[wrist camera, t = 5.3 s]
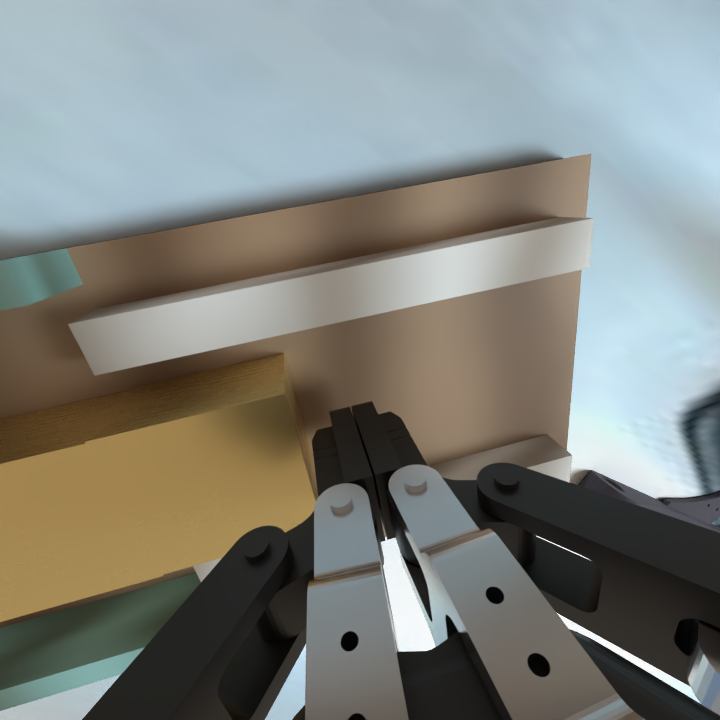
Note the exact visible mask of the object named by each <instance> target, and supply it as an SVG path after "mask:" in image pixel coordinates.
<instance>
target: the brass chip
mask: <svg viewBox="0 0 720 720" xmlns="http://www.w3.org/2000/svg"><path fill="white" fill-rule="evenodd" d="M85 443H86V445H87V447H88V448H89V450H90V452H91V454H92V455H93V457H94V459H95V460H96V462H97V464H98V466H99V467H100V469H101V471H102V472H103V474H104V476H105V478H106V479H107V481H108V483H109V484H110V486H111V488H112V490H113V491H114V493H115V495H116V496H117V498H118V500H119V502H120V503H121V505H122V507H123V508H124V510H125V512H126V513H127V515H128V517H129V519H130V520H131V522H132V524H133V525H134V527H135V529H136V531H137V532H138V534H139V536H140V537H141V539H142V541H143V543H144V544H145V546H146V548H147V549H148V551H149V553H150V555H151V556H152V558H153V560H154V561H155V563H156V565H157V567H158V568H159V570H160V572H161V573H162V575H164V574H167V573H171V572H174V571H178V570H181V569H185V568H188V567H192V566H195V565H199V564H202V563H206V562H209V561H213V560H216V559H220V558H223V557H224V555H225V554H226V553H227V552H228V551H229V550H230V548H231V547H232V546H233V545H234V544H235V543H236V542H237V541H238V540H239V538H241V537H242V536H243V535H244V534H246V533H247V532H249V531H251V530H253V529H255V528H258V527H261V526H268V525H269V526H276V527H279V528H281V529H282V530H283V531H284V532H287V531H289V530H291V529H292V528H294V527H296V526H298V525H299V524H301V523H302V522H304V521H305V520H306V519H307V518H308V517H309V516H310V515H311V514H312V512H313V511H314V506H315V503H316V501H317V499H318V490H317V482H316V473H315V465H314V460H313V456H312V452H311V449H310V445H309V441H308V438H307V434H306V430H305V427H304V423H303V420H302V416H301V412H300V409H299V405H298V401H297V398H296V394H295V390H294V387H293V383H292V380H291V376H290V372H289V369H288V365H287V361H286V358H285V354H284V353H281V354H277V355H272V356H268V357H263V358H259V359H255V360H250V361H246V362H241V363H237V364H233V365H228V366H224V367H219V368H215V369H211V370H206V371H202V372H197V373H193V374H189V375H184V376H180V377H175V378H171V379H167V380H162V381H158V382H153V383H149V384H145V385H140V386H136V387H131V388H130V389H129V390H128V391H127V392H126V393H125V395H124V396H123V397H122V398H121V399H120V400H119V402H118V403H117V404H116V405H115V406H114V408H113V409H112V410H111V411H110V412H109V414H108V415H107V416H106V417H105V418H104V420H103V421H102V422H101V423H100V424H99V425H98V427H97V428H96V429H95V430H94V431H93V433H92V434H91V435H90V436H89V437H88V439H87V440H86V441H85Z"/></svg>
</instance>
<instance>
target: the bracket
mask: <svg viewBox="0 0 720 720" xmlns="http://www.w3.org/2000/svg"><path fill="white" fill-rule="evenodd" d="M578 486H581V487H584V488H587V489H590V490H593V491H596V492H599V493H602V494H605V495H608V496H611V497H614V498H617V499H620V500H623V501H626V502H629V503H632V504H635V505H638V506H641V507H644V508H647V509H650V510H653V511H656V512H659V513H662V514H665V515H668V516H671V517H674V518H677V519H680V520H683V521H686V522H689V523H692V524H695V525H698V526H701V527H704V528H707V529H710V530H713V531H716V532H719V533H720V526H716V525H713V524H712V523H713V522H714V521H715V520H716V519H717V518H719V517H720V491H719V492H717V493H714V494H711V495H707V496H701V497H696V498H688V499H665V500H664V501H660V500H657V499H655V498H653V497H650V496H648V495H646V494H644V493H641V492H639V491H637V490H635V489H633V488H630V487H628V486H626V485H624V484H622V483H619V482H617V481H615V480H613V479H610V478H608V477H606V476H604V475H602V474H599V473H597V472H595V471H593V470H591V471H590V472H589V473H588V474H587V476H586V477H585V478H584V479H583V480H582V482H581V483H580V484H579V485H578Z"/></svg>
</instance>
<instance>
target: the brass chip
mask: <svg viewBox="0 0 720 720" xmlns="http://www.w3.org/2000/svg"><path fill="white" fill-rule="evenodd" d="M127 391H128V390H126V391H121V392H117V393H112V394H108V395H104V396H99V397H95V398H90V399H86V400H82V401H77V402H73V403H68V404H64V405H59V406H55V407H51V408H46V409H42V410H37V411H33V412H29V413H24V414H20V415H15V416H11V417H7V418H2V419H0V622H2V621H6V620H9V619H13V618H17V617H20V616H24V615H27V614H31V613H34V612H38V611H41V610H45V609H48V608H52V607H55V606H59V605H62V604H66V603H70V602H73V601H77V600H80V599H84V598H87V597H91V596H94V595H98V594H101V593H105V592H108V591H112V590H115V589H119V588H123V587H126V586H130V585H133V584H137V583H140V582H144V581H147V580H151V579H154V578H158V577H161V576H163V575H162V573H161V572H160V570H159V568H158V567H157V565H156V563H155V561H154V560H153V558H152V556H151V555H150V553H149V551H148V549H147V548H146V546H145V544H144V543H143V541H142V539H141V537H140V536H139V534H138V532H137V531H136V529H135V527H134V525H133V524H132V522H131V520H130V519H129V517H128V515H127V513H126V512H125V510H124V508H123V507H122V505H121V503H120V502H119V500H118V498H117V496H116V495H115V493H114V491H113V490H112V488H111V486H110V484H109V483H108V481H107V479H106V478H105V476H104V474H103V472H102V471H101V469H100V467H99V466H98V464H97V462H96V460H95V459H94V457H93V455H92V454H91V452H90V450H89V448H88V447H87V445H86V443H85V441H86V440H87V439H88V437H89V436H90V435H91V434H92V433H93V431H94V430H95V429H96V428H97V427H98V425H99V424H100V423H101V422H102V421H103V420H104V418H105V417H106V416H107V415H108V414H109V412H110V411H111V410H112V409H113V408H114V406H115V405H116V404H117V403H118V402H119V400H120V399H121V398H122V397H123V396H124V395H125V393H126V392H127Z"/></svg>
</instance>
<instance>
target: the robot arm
mask: <svg viewBox="0 0 720 720" xmlns="http://www.w3.org/2000/svg"><path fill="white" fill-rule="evenodd" d="M351 408H352V412H351V409H350V407H346V408H341V409H337V410H333V411H329V414H330V418H331V423H332V426H330V427H326V428H322V429H319V430H317V431H316V433H315V435H314V437H313V439H312V448H313V456H314V465H315V473H316V482H317V490H318V499H317V501H316V503H315V506H314V511H313V512H312V514H311V515H310V516H309V517H308V518H307V519H306V520H305V521H304V522H302V523H301V524H299V525H298V526H296V527H294V528H292V529H291V530H289V531H287V532H284V531H283V530H282V529H281V528H279V527H276V526H269V525H268V526H261V527H258V528H255V529H253V530H251V531H249V532H247V533H246V534H244V535H243V536H242V537H241V538H239V540H238V541H237V542H236V543H235V544H234V545H233V546H232V547H231V548H230V550H229V551H228V552H227V553H226V554H225V555H224V557H223V558H222V559H221V560H220V561H219V562H218V563H217V565H216V566H215V567H214V568H213V569H212V570H211V572H210V573H209V574H208V575H207V576H206V577H205V578H204V580H203V581H202V582H201V583H200V584H199V585H198V587H197V588H196V589H195V590H194V591H193V592H192V593H191V595H190V596H189V597H188V598H187V599H186V600H185V602H184V603H183V604H182V605H181V606H180V607H179V608H178V610H177V611H176V612H175V613H174V614H173V615H172V617H171V618H170V619H169V620H168V621H167V622H166V623H165V625H164V626H163V627H162V628H161V629H160V630H159V632H158V633H157V634H156V635H155V636H154V637H153V638H152V640H151V641H150V642H149V643H148V644H147V645H146V647H145V648H144V649H143V650H142V651H141V652H140V653H139V655H138V656H137V657H136V658H135V659H134V660H133V662H132V663H131V664H130V665H129V666H128V667H127V668H126V670H125V671H124V672H123V673H122V674H121V675H120V677H119V678H118V679H117V680H116V681H115V682H114V684H113V685H112V686H111V687H110V688H109V689H108V690H107V692H106V693H105V694H104V695H103V696H102V697H101V699H100V700H99V701H98V702H97V703H96V704H95V705H94V707H93V708H92V709H91V710H90V711H89V712H88V714H87V715H86V716H85V717H84V718H83V719H82V720H265V718H266V716H267V714H268V712H269V711H270V709H271V707H272V705H273V703H274V701H275V700H276V698H277V696H278V694H279V692H280V690H281V688H282V687H283V685H284V683H285V681H286V679H287V677H288V676H289V674H290V672H291V670H292V668H293V666H294V665H295V663H296V661H297V659H298V657H299V655H300V654H301V652H302V650H303V648H304V646H305V644H306V690H305V705H304V707H303V708H302V709H301V710H300V711H299V712H298V713H297V714H296V715H295V717H294V718H293V720H720V533H719V532H716V531H713V530H710V529H707V528H704V527H701V526H698V525H695V524H692V523H689V522H686V521H683V520H680V519H677V518H674V517H671V516H668V515H665V514H662V513H659V512H656V511H653V510H650V509H647V508H644V507H641V506H638V505H635V504H632V503H629V502H626V501H623V500H620V499H617V498H614V497H611V496H608V495H605V494H602V493H599V492H596V491H593V490H590V489H587V488H584V487H581V486H578V485H575V484H572V483H569V482H566V481H563V480H561V479H558V478H555V477H552V476H549V475H546V474H543V473H540V472H537V471H534V470H531V469H528V468H525V467H522V466H519V465H515V464H512V463H493V464H490V465H487V466H485V467H484V468H483V469H481V470H480V472H479V473H478V475H477V480H452V479H447V478H443V477H441V475H440V474H439V473H438V472H437V471H436V470H435V469H433V468H431V467H428V466H427V464H426V462H425V460H424V458H423V457H422V455H421V453H420V451H419V449H418V448H417V446H416V444H415V442H414V440H413V439H412V437H411V435H410V433H409V431H408V430H407V428H406V426H405V424H404V422H403V421H402V419H401V418H400V417H399V416H397V415H396V414H394V413H393V412H391V411H390V412H386V413H382V414H378V413H377V411H376V408H375V406H374V404H373V402H372V401H370V402H365V403H361V404H357V405H353V406H351ZM352 414H353V415H352ZM381 520H382V521H381ZM382 524H383V526H382ZM383 527H384V530H385V533H386V536H387V540H388V539H391V538H395V537H396V540H397V543H398V546H399V549H400V554H401V560H402V564H403V567H404V569H405V571H406V574H407V576H408V578H409V581H410V583H411V586H412V588H413V590H414V593H415V595H416V597H417V600H418V602H419V604H420V607H421V609H422V612H423V614H424V616H425V619H426V621H427V623H428V626H429V628H430V631H431V633H432V636H433V639H434V642H435V646H436V647H435V648H433V649H432V650H429V651H416V652H399V648H398V643H397V637H396V632H395V627H394V622H393V616H392V611H391V606H390V600H389V595H388V590H387V585H386V579H385V574H384V569H383V564H384V557H383V552H382V547H381V542H382V541H385V536H384V531H383ZM536 535H537V536H539V537H542V538H544V539H546V540H548V541H551V542H553V543H555V544H557V545H560V546H562V547H564V548H567V549H569V550H571V551H573V552H576V553H578V554H580V555H582V556H584V557H586V558H588V559H590V560H591V561H590V560H588V559H585V558H583V557H581V556H579V555H576V554H574V553H572V552H570V551H567V550H565V549H563V548H561V547H558V546H556V545H554V544H552V543H549V542H547V541H545V540H543V539H540V538H538V537H536ZM592 561H593V562H592ZM556 612H557V613H558V614H560V615H562V616H564V617H566V618H567V619H569V620H571V621H573V622H575V623H576V624H578V625H580V626H582V627H584V628H585V629H587V630H589V631H591V632H593V633H595V634H596V635H598V636H600V637H602V638H604V639H605V640H607V641H609V642H611V643H613V644H614V645H616V646H618V647H620V648H622V649H623V650H625V651H627V652H629V653H631V654H633V655H634V656H636V657H638V658H640V659H642V660H643V661H645V662H647V663H649V664H651V665H652V666H654V667H656V668H658V669H660V670H661V671H663V672H665V673H667V674H669V675H671V676H672V677H674V678H676V679H678V680H680V681H681V682H683V683H685V684H687V685H689V686H690V687H691V688H692V690H693V692H694V694H695V696H696V697H697V699H698V700H699V701H700V703H701V704H700V703H698V702H697V701H695V700H693V699H692V698H690V697H688V696H687V695H685V694H683V693H681V692H680V691H678V690H676V689H675V688H673V687H671V686H670V685H668V684H666V683H665V682H663V681H661V680H660V679H658V678H656V677H655V676H653V675H651V674H650V673H648V672H646V671H645V670H643V669H641V668H640V667H638V666H636V665H635V664H633V663H631V662H630V661H628V660H626V659H625V658H623V657H621V656H620V655H618V654H616V653H615V652H613V651H611V650H610V649H608V648H606V647H604V646H603V645H601V644H599V643H598V642H596V641H594V640H592V639H591V638H588V637H586V636H584V635H582V634H580V633H578V632H575V631H573V630H570V629H568V628H567V626H566V625H565V624H564V622H563V621H562V620H561V618H560V617H559V616H558V614H557V613H556Z"/></svg>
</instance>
